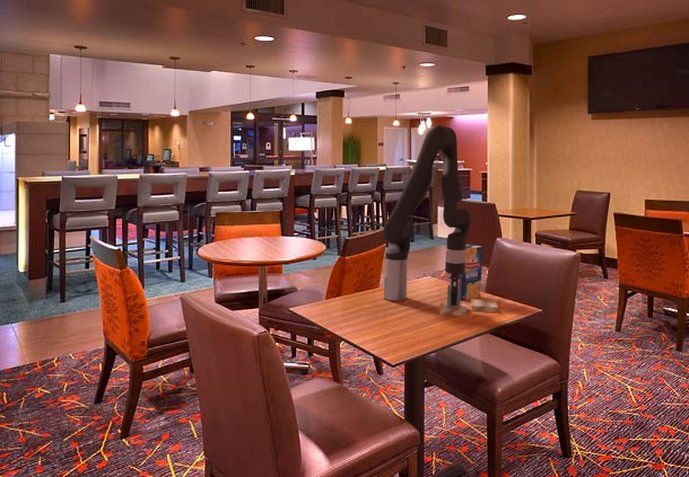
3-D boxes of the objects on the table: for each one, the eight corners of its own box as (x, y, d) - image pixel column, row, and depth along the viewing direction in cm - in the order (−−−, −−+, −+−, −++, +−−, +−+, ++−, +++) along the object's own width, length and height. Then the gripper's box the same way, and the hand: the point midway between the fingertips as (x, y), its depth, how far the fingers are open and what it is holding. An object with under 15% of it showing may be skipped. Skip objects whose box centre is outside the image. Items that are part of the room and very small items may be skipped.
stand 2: (471, 310, 215) (471, 305, 215) (470, 303, 225) (470, 298, 225) (497, 312, 213) (498, 307, 213) (495, 305, 223) (496, 300, 223)
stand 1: (439, 314, 210) (440, 309, 210) (440, 307, 220) (440, 302, 219) (466, 316, 208) (466, 311, 208) (466, 308, 218) (466, 303, 217)
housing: (446, 308, 211) (447, 287, 210) (447, 304, 216) (447, 284, 215) (460, 308, 210) (461, 288, 209) (459, 305, 215) (460, 285, 214)
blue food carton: (480, 297, 235) (483, 246, 231) (461, 300, 229) (463, 248, 226) (469, 293, 241) (471, 244, 237) (450, 296, 235) (452, 246, 232)
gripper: (445, 256, 218) (444, 297, 221) (445, 263, 204) (443, 307, 207) (465, 257, 217) (463, 299, 219) (465, 264, 203) (463, 309, 205)
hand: (453, 303), depth 213 cm, fingers closed on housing, 5 cm apart
